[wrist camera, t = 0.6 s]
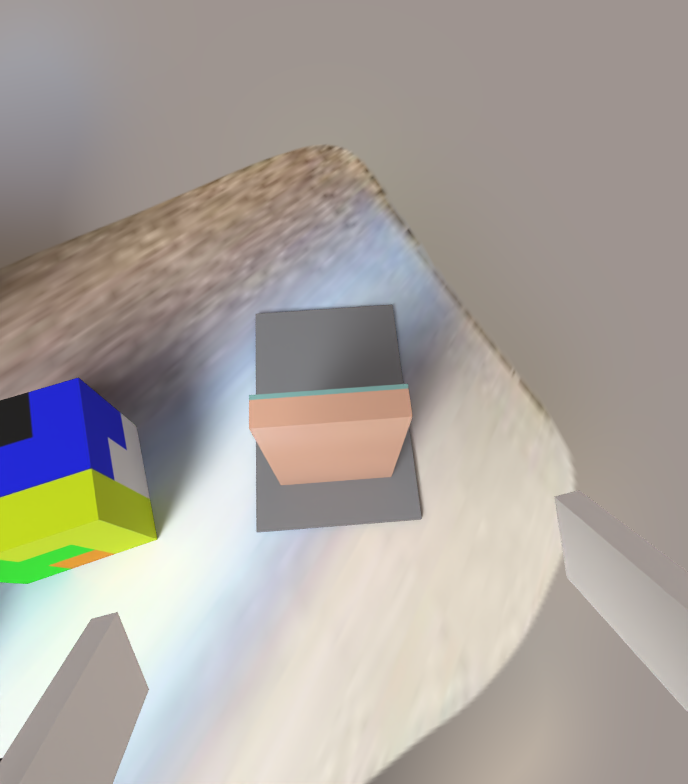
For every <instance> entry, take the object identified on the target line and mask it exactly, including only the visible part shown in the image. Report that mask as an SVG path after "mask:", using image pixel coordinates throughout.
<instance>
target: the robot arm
mask: <svg viewBox="0 0 688 784" xmlns="http://www.w3.org/2000/svg"><path fill="white" fill-rule="evenodd" d="M555 504H556V510H557V517H558V523H559V530H560V536H561V543H562V549H563V556H564V562H565V569H566V575H567V578H568V579H569V580H570V581H571V582H572V583H573V585H574V586H575V587H576V588H577V589H578V590H579V591H580V592H581V593H582V595H583V596H584V597H585V598H586V599H587V600H588V601H589V602H590V604H591V605H592V606H593V607H594V608H595V609H596V610H597V611H598V613H599V614H600V615H601V616H602V617H603V618H604V619H605V620H606V621H607V623H608V624H609V625H610V626H611V627H612V628H613V629H614V630H615V631H616V632H617V634H618V635H619V636H620V637H621V638H622V639H623V640H624V641H625V643H626V644H627V645H628V646H629V647H630V648H631V649H632V650H633V652H634V653H635V654H636V655H637V656H638V657H639V658H640V659H641V660H642V662H643V663H644V664H645V665H646V666H647V667H648V668H649V669H650V670H651V672H652V673H653V674H654V675H655V676H656V677H657V678H658V679H659V681H660V682H661V683H662V684H663V685H664V686H665V687H666V688H667V689H668V691H669V692H670V693H671V694H672V695H673V696H674V697H675V698H676V700H677V701H678V702H679V703H680V704H681V705H682V706H683V707H684V709H685V710H686V711H687V712H688V571H687V570H685V569H684V568H682V567H681V566H680V565H679V564H677V563H676V562H675V561H673V560H672V559H671V558H669V557H668V556H666V555H665V554H664V553H663V552H661V551H660V550H659V549H657V548H656V547H655V546H653V545H652V544H650V543H649V542H648V541H647V540H645V539H644V538H642V537H641V536H640V535H639V534H637V533H636V532H635V531H633V530H632V529H630V528H629V527H628V526H627V525H625V524H624V523H623V522H621V521H620V520H619V519H617V518H616V517H614V516H613V515H612V514H610V513H609V512H608V511H606V510H605V509H604V508H602V507H601V506H600V505H598V504H597V503H596V502H594V501H593V500H591V499H590V498H589V497H588V496H586V495H585V494H584V493H582V492H581V491H580V490H578V491H574V492H570V493H567V494H563V495H559V496H555ZM148 690H149V689H148V686H147V684H146V681H145V679H144V676H143V674H142V671H141V669H140V666H139V664H138V661H137V659H136V657H135V654H134V652H133V649H132V647H131V644H130V642H129V639H128V637H127V634H126V632H125V630H124V627H123V625H122V622H121V620H120V617H119V615H118V612H116V613H112V614H108V615H105V616H101V617H97V618H93V619H91V620H90V622H89V623H88V625H87V627H86V628H85V630H84V631H83V633H82V634H81V636H80V638H79V639H78V641H77V642H76V644H75V645H74V647H73V649H72V650H71V652H70V653H69V655H68V656H67V658H66V660H65V661H64V663H63V664H62V666H61V667H60V669H59V671H58V672H57V674H56V675H55V677H54V678H53V680H52V682H51V683H50V685H49V686H48V688H47V689H46V691H45V693H44V694H43V696H42V697H41V699H40V700H39V702H38V704H37V705H36V707H35V708H34V710H33V711H32V713H31V714H30V716H29V718H28V719H27V721H26V722H25V724H24V725H23V727H22V729H21V730H20V732H19V733H18V735H17V736H16V738H15V740H14V741H13V743H12V744H11V746H10V747H9V749H8V751H7V752H6V754H5V755H4V757H3V758H0V784H113V781H114V779H115V776H116V773H117V771H118V768H119V766H120V763H121V760H122V758H123V755H124V753H125V750H126V747H127V745H128V742H129V739H130V737H131V734H132V732H133V729H134V726H135V724H136V721H137V719H138V716H139V713H140V711H141V708H142V706H143V703H144V700H145V698H146V695H147V693H148Z"/></svg>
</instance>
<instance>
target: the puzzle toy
mask: <svg viewBox="0 0 688 784" xmlns="http://www.w3.org/2000/svg"><path fill="white" fill-rule="evenodd" d="M154 540H157V534H156V529H155V523H154V518H153V513H152V507H151V502H150V496H149V491H148V486H147V480H146V475H145V469H144V464H143V459H142V453H141V448H140V442H139V437H138V432H137V426H136V425H134V424H133V423H132V422H131V421H130V420H128V419H127V418H126V417H125V416H124V415H123V414H121V413H120V412H119V411H118V410H117V409H115V408H114V407H113V406H112V405H111V404H109V403H108V402H107V401H106V400H105V399H103V398H102V397H101V396H100V395H99V394H98V393H96V392H95V391H94V390H93V389H92V388H90V387H89V386H88V385H87V384H86V383H84V382H83V381H82V380H81V379H80V378H75V379H72V380H69V381H65V382H62V383H58V384H55V385H52V386H48V387H45V388H41V389H38V390H35V391H31V392H28V393H24V394H21V395H18V396H14V397H11V398H7V399H4V400H1V401H0V582H4V583H21V584H29V583H31V582H34V581H37V580H40V579H43V578H46V577H49V576H52V575H55V574H58V573H61V572H64V571H67V570H69V569H72V568H75V567H78V566H81V565H84V564H87V563H90V562H93V561H96V560H99V559H102V558H105V557H108V556H110V555H113V554H116V553H119V552H122V551H125V550H128V549H131V548H134V547H137V546H140V545H143V544H146V543H148V542H151V541H154Z"/></svg>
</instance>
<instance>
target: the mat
mask: <svg viewBox="0 0 688 784" xmlns="http://www.w3.org/2000/svg"><path fill="white" fill-rule="evenodd" d="M398 384H403V378H402V371H401V364H400V356H399V349H398V342H397V334H396V327H395V320H394V312H393V305H379V306H365V307H350V308H335V309H320V310H306V311H291V312H276V313H261V314H256V395H259V394H273V393H286V392H300V391H314V390H328V389H342V388H356V387H370V386H384V385H398ZM256 518H257V532H268V531H281V530H294V529H306V528H319V527H332V526H344V525H357V524H370V523H382V522H395V521H408V520H420V519H422V517H421V510H420V503H419V495H418V488H417V481H416V474H415V466H414V459H413V452H412V444H411V437H410V430H409V428H408V431H407V434H406V437H405V439H404V442H403V445H402V448H401V451H400V454H399V457H398V459H397V462H396V465H395V468H394V471H393V474H392V477H384V478H371V479H358V480H345V481H332V482H319V483H306V484H293V485H281V484H280V483H279V481H278V479H277V477H276V476H275V474H274V472H273V470H272V468H271V467H270V465H269V463H268V461H267V459H266V458H265V456H264V454H263V452H262V451H261V449H260V447H259V445H258V443H257V442H256Z"/></svg>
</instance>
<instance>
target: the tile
mask: <svg viewBox="0 0 688 784" xmlns="http://www.w3.org/2000/svg"><path fill="white" fill-rule="evenodd" d="M411 419H412V410H411V403H410V396H409V389H408V384H398V385H384V386H370V387H356V388H342V389H328V390H314V391H300V392H286V393H273V394H259V395H249V429H250V431H251V433H252V435H253V436H254V438H255V440H256V442H257V443H258V445H259V447H260V449H261V451H262V452H263V454H264V456H265V458H266V459H267V461H268V463H269V465H270V467H271V468H272V470H273V472H274V474H275V476H276V477H277V479H278V481H279V483H280V484H281V485H293V484H306V483H319V482H332V481H345V480H358V479H371V478H384V477H392V474H393V471H394V468H395V465H396V462H397V459H398V457H399V454H400V451H401V448H402V445H403V442H404V439H405V437H406V434H407V431H408V428H409V425H410V422H411Z"/></svg>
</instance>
